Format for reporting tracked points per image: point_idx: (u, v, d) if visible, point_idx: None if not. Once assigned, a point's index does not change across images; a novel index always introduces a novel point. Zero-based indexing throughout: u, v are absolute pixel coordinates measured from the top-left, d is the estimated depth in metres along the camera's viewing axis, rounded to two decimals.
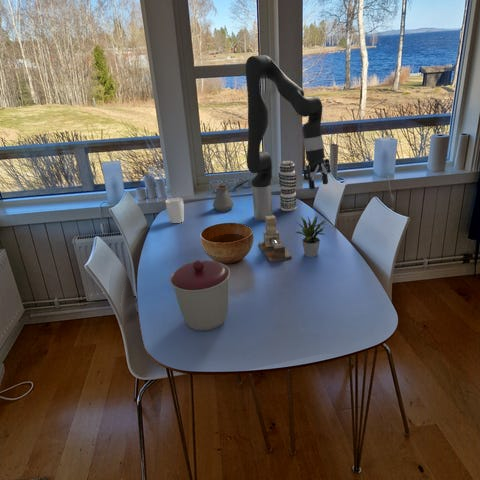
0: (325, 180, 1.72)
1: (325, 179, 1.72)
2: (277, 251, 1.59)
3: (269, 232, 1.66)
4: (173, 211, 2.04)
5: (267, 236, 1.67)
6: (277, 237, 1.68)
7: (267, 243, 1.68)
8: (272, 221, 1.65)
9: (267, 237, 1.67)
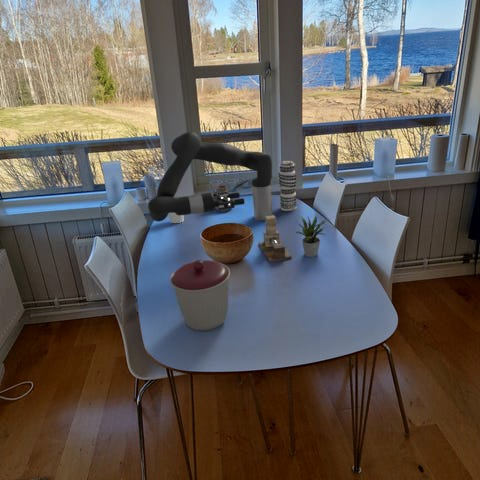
0: None
1: None
2: (277, 251, 1.59)
3: (269, 232, 1.66)
4: None
5: (267, 236, 1.67)
6: (277, 237, 1.68)
7: (267, 243, 1.68)
8: (272, 221, 1.65)
9: (267, 237, 1.67)
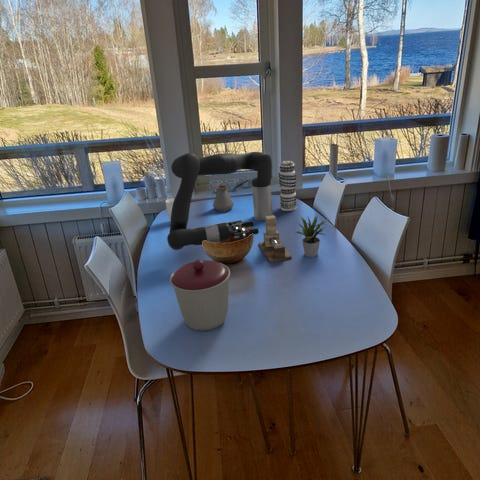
0: None
1: None
2: (277, 251, 1.59)
3: (269, 232, 1.66)
4: None
5: (267, 236, 1.67)
6: (277, 237, 1.68)
7: (267, 243, 1.68)
8: (272, 221, 1.65)
9: (267, 237, 1.67)
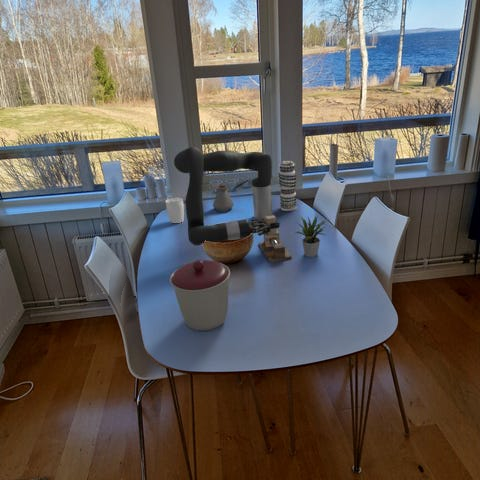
0: None
1: None
2: (277, 251, 1.59)
3: (269, 232, 1.66)
4: (173, 211, 2.04)
5: (267, 236, 1.67)
6: (277, 237, 1.68)
7: (267, 243, 1.68)
8: (272, 221, 1.65)
9: (267, 237, 1.67)
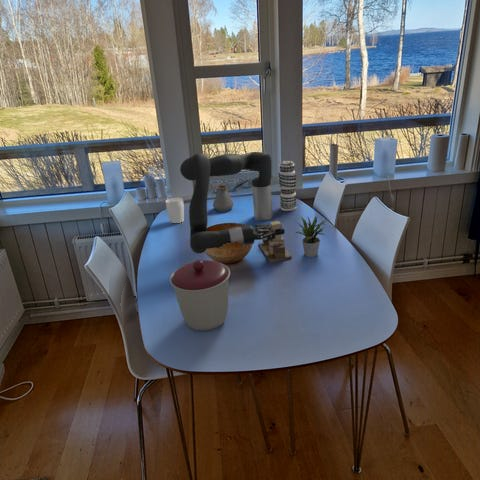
0: None
1: None
2: (277, 251, 1.59)
3: (274, 238, 1.60)
4: (173, 211, 2.04)
5: (272, 243, 1.60)
6: (282, 244, 1.62)
7: (272, 250, 1.62)
8: (277, 228, 1.58)
9: (272, 244, 1.61)
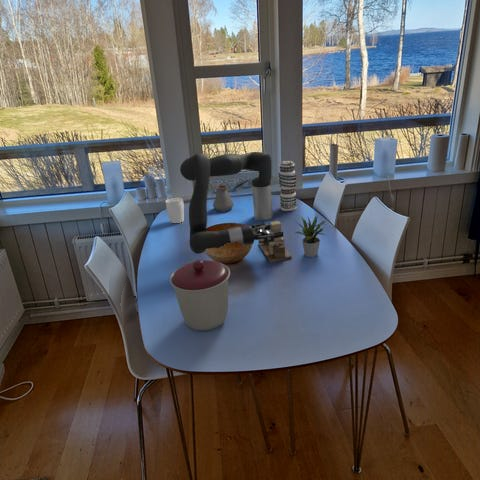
0: None
1: None
2: (277, 251, 1.59)
3: (274, 238, 1.60)
4: (173, 211, 2.04)
5: (272, 243, 1.60)
6: (282, 244, 1.62)
7: (272, 250, 1.62)
8: (277, 228, 1.58)
9: (272, 244, 1.61)
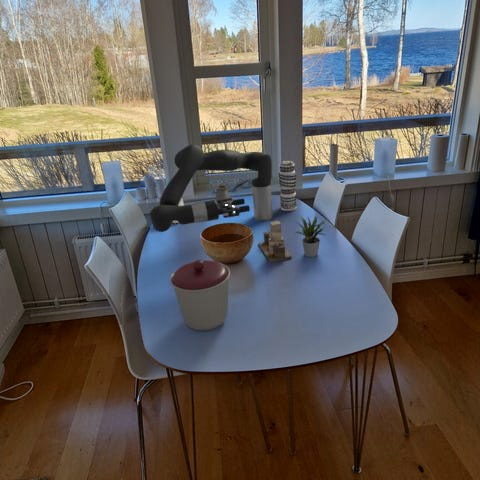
0: None
1: None
2: (277, 251, 1.59)
3: (274, 238, 1.60)
4: None
5: (272, 243, 1.60)
6: (282, 244, 1.62)
7: (272, 250, 1.62)
8: (277, 228, 1.58)
9: (272, 244, 1.61)
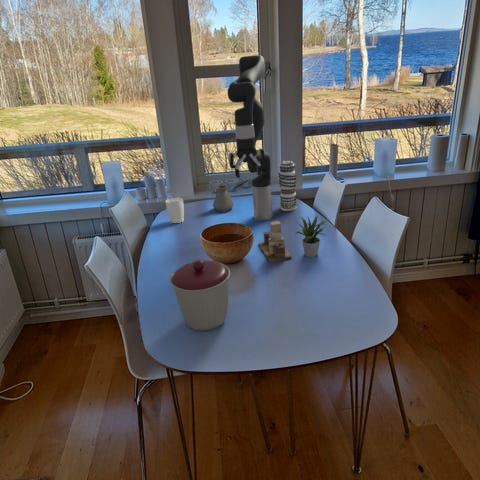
0: (257, 171, 1.66)
1: (257, 170, 1.65)
2: (277, 251, 1.59)
3: (274, 238, 1.60)
4: (173, 211, 2.04)
5: (272, 243, 1.60)
6: (282, 244, 1.62)
7: (272, 250, 1.62)
8: (277, 228, 1.58)
9: (272, 244, 1.61)
